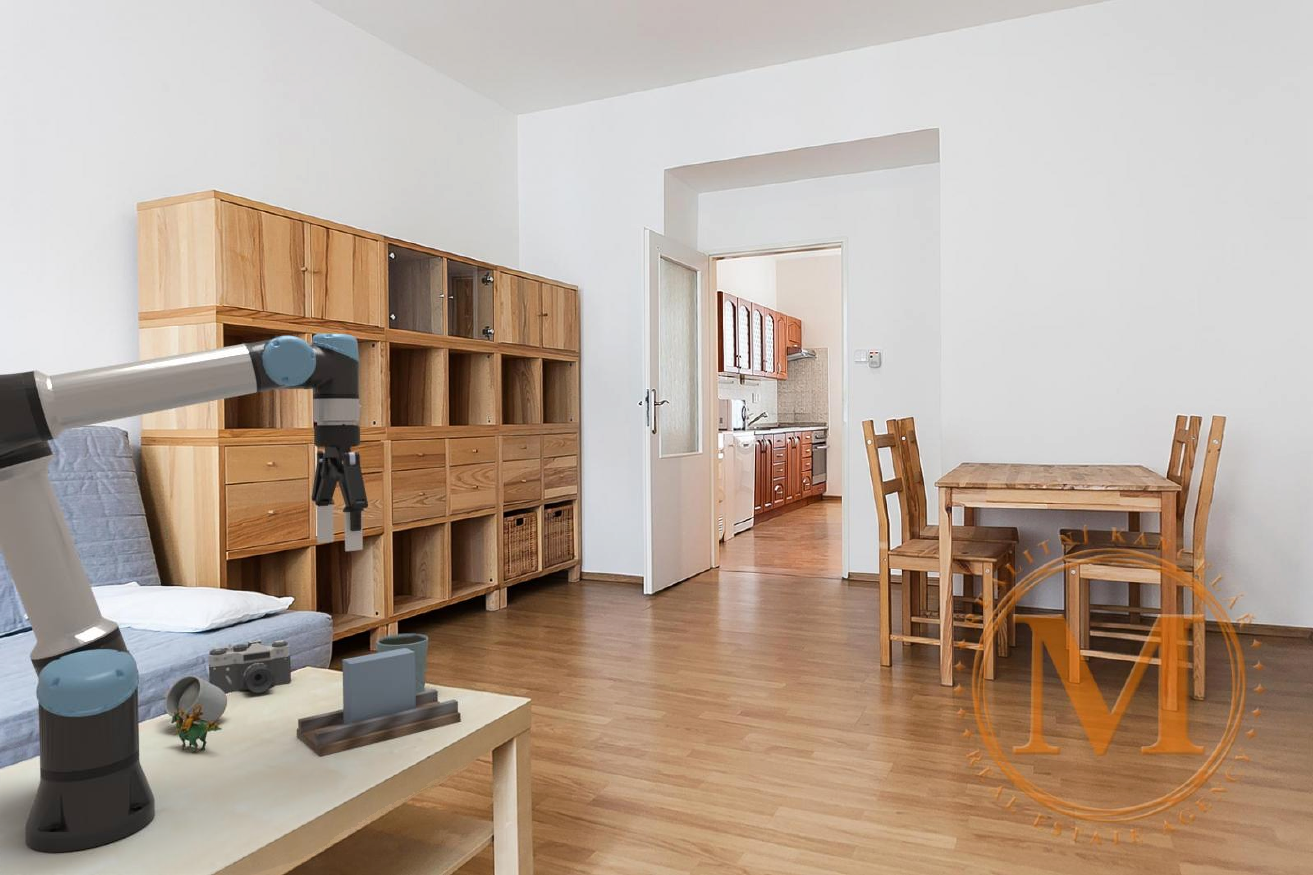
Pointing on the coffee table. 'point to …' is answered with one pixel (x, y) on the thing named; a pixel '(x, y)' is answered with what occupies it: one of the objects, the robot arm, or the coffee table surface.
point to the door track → (375, 725)
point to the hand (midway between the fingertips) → (339, 546)
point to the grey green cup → (412, 643)
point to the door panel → (378, 685)
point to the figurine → (193, 728)
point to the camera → (250, 666)
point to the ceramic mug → (195, 698)
